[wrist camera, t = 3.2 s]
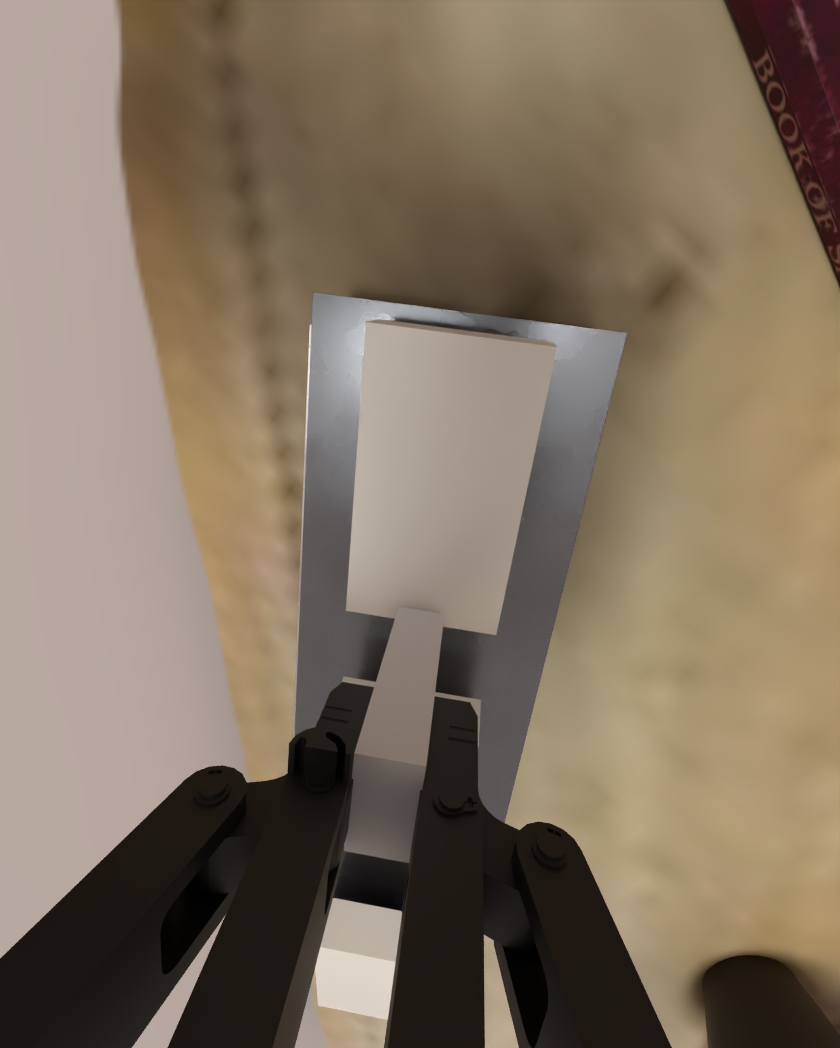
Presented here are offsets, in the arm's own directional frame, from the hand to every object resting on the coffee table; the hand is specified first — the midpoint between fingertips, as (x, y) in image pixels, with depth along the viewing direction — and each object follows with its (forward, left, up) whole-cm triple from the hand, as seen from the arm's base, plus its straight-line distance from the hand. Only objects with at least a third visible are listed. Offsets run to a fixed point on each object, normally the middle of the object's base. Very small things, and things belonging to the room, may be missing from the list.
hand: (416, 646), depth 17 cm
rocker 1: (+18, 0, -3) cm, 19 cm away
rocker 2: (-5, 0, -3) cm, 6 cm away
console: (+7, 0, -8) cm, 11 cm away
